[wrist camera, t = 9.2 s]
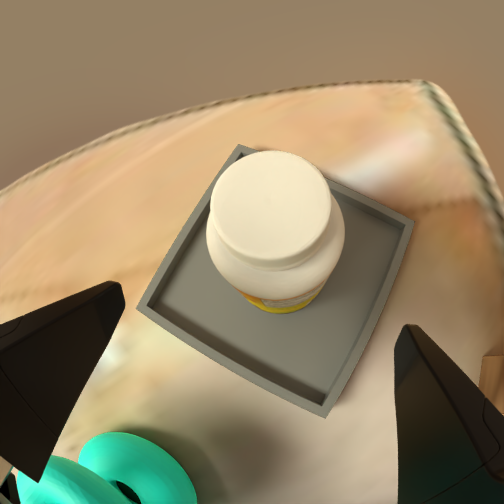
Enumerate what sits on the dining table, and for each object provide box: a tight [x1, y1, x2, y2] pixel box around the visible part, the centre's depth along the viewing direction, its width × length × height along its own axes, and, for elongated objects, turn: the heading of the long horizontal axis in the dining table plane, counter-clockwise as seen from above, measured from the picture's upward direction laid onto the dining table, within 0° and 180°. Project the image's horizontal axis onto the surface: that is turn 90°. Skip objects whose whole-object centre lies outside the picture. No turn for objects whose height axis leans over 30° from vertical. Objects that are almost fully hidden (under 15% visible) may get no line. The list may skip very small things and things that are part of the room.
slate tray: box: [136, 144, 415, 419], centre depth 19 cm, size 14×14×2 cm
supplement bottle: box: [206, 151, 345, 314], centre depth 14 cm, size 6×6×10 cm
